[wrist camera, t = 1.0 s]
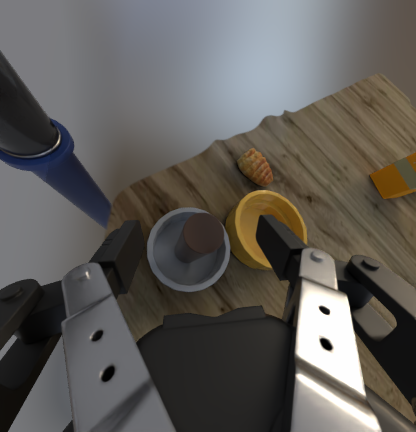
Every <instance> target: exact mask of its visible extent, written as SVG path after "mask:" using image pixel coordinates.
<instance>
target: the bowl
mask: <svg viewBox="0 0 416 432" xmlns="http://www.w3.org/2000/svg"><path fill="white" fill-rule="evenodd" d="M269 214H272V215H273V216H274V217H275V218H276V219H277V220H278V221H280V222H282V223H284V224H286V225H287V226H288V227H289V228H290V229H291V231H293V232H294V233H295V235H297V236H298V237H299V238H300V239H301V240H302V241H303V242H304V243H305V244H306V245H307V231H306V227H305V224H304V221H303V218H302V217H301V215H300V214H299V212H298V210H297V209H296V207H295V206H294V205H293V204H292V203H291V202H290V201H289V200H288V199H286V198H284V197H283V196H281V195H280V194H278V193H275V192H272V191H269V190H257V191H254V192H252V193H249V194H247V195H246V196H245V197H244V198H243V199H242V200H241V201H240V202H239V203H238V204H237V205H236V206H235V207H234V208H233V209H231V211H230V213H229V215H228V217H227V219H226V225H225V231H226V233H227V235H228V237H229V243H230V249H231V251H232V252H233V254H234V255H235V256H236V257H237V258H238V259H239V260H240V261H241V262H242V263H244V264H245V265H247V266H249V267H250V268H254V269H258V270H273V268H272V267H271V265H270V263H269V262H268V260H267V258H266V257H265V255H264V253H263V252H262V250H261V248H260V247H259V245H258V243H257V241H256V229H257V224H258V219H259V216H260V215H269Z"/></svg>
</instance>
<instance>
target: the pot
mask: <svg viewBox="0 0 416 432" xmlns="http://www.w3.org/2000/svg"><path fill="white" fill-rule="evenodd" d="M201 212H203V213H208V212H206V211H204V210H200V209H197V208H179V209H176V210H173V211H170V212H169V213H167V214H166V215H165V216H163V217H162V218H160V219H159V220H158V222H157V223H156V224H155V226H154V227H153V228H152V230H151V232H150V235H149V239H148V242H147V257H148V261H149V264H150V267H151V269H152V272H153V273H154V274H155V275H156V276H157V278H158V279H159V280H160V281H161V282H162V283H163V284H165V285H167V286H168V287H170V288H172V289H174V290H178V291H184V292H194V291H199V290H203V289H205V288H207V287H209V286H210V285H212V284H214V283H215V282H216V281H217V280H218V279H219V278H220V277H221V275H222V274H223V273H224V271H225V269H226V267H227V264H228V262H229V256H230V243H229V237H228V235H227V233H226V231H225V229H224V240H223V243H222V245H221V246H220V247H219V249H217V250H216V251H215V252H213V253H210V254H208V255H206V256H204V257H202V258H199V259H197V260H195V261H193V262H190V263H184V262H181V261H180V260H179V259H178V258H177V257H176V255H175V246H176V244H177V241H178V239H179V236H180V234H181V232H182V229H183V227H184V224H185V222H186V221H187V219H188V218H189V217H190V216H192V215H194V214H196V213H201ZM222 226H223V225H222ZM223 228H224V227H223Z"/></svg>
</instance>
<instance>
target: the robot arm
mask: <svg viewBox="0 0 416 432" xmlns="http://www.w3.org/2000/svg"><path fill="white" fill-rule="evenodd" d="M61 143H62V135H61V132H60V131H59V129H58V128H57V127H56V125H54V124H53V121H51V120H50V118H49V117H48V115H47V114H46V113H45V111H44V110H43V108H42V107H41V106H40V104H39V103H38V101H37V100H36V99H35V97H34V96H33V95H32V94H31V92H30V90H29V89H28V88H27V86H26V85H25V84H24V82H23V81H22V80H21V78H20V77H19V75H18V74H17V73H16V72H15V70H14V69H13V67H12V66H11V64H10V63H9V62H8V60H7V59H6V58H5V56H4V55H3V53H2V52H1V51H0V151H3V152H4V153H6V154H8V155H9V156H12V157H15V158H19V159H38V158H43V157H46V156H48V155H50V154H52V153H54V152H55V151H56V150H57V149H58V148H59V147H60V145H61ZM256 241H257V243H258V245H259V247H260V248H261V250H262V252H263V253H264V255H265V257H266V258H267V260H268V262H269V263H270V265H271V267H272V268H273V270H274V272H275V273H276V275H277V277H278V278H279V280H280V281H282V280H288V281H289V282H290V283H289V286H288V291H287V296H286V302H285V307H284V313H283V317H282V319H280V318H277V317H275V316H272V315H269V314H265V312H264V310H263V308H262V306H252V307H243V308H237V309H235V310H232V311H230V312H228V313H225V314H223V315H220V316H218V317H210V316H204V315H198V314H192V313H185V314H175V315H166V316H164V319H163V325H160V326H158V327H156V328H154V329H152V330H151V331H149V332H148V333H147V334H145V335H144V336H143V337H142V338H140V339H139V340H138V341H137V342H136V343H135V341H134V338H133V336H132V334H131V332H130V330H129V327H128V325H127V323H126V321H125V319H124V316H123V314H122V312H121V310H120V308H119V305H118V303H117V301H116V300H117V297H118V295H119V294H127V293H128V290H129V287H130V284H131V282H132V279H133V276H134V274H135V271H136V268H137V266H138V263H139V260H140V257H141V255H142V252H143V249H144V238H143V233H142V229H141V225H140V222H139V220H130V221H125V222H124V223H123V225H122V226H121V228H120V229H116V230H114V231H113V232H112V233H110V234H109V235H108V237H107V238H106V239H105V241H104V242H103V243H102V246H100V248H99V249H98V250H97V252H96V253H95V254H94V256H93V257H92V258H91V260H90V261H89V262H88V263H86V264H82V265H80V266H78V267H76V268H74V269H72V270H71V271H70V272H68V273H67V274H66V275H65V276H64V278H63V279H62V280H61V281H57V282H54V283H50V284H47V285H44V286H40V285H39V283H38V282H37V281H36V280H34V279H26V280H21V281H18V282H15V283H13V284H10V285H8V286H6V287H5V288H3V289H1V290H0V350H1V349H2V348H3V347H4V345H5V344H6V343H7V341H8V340H9V339H10V338H11V336H12V335H13V334H14V335H15V336H16V337H17V339H16V341H15V342H14V343H13V345H12V346H11V347H10V349H9V350H8V351H7V353H6V354H5V355H4V357H3V358H2V359H1V360H0V432H8V430H9V429H10V427H11V425H12V423H13V421H14V420H15V418H16V416H17V414H18V413H19V411H20V409H21V407H22V405H23V403H24V402H25V400H26V398H27V396H28V395H29V393H30V391H31V389H32V387H33V385H34V384H35V382H36V380H37V378H38V377H39V375H40V373H41V371H42V369H43V368H44V366H45V364H46V362H47V360H48V359H49V357H50V355H51V353H52V352H53V350H54V348H55V346H56V344H57V342H58V341H59V339H60V337H61V335H62V337H63V345H64V353H65V362H66V369H67V378H68V386H69V394H70V403H71V411H72V419H73V420H72V421H71V422H70V423H69V424H68V426H67V427H66V428H65V429H64V431H63V432H416V421H415V422H414V424H413V423H412V422H411V421H410V420H408V419H407V418H406V417H405V416H403V415H402V414H401V413H400V412H398V411H397V410H396V409H395V408H393V407H392V406H391V405H390V404H388V403H387V402H386V401H385V400H383V399H382V398H381V397H380V396H379V395H377V394H376V393H375V392H374V391H372V390H371V389H370V388H369V387H367V386H366V385H365V384H364V383H363V377H362V372H361V366H360V361H359V356H358V350H357V345H356V339H355V334H354V331H355V332H356V334H357V335H358V336H359V337H360V339H361V340H362V341H363V343H364V344H365V345H366V347H367V348H368V349H369V351H370V352H371V353H372V355H373V356H374V357H375V358H376V360H377V361H378V362H379V364H380V365H381V366H382V368H383V369H384V370H385V372H386V373H387V374H388V376H389V377H390V378H391V379H392V381H393V382H394V383H395V385H396V386H397V387H398V389H399V390H400V391H401V393H402V394H403V395H404V397H405V398H406V399H407V400H408V402H409V403H410V404H411V406H412V409H413V412H414V414H415V416H416V288H414V287H413V286H412V285H410V284H409V283H408V282H406V281H405V280H403V279H402V278H401V277H399V276H398V275H397V274H395V273H394V272H393V271H391V270H390V269H389V268H387V267H386V266H385V265H383V264H382V263H380V262H379V261H377V260H375V259H372V258H370V257H367V256H363V255H354V256H352V257H351V259H350V260H349V262H343V261H337V260H333V258H332V257H331V256H330V255H329V254H327V253H326V252H324V251H322V250H319V249H316V248H309V247H308V246H307V245H306V244H305V243H304V242H303V241H302V240H301V239H300V238H299V237H298V236H297V235H295V233H294V232H293V231H291V229H290V228H289V227H288V226H287V225H286V224H284V223H282V222H280V221H278V220H277V219H276V218H275V217H274V216H273V215H272V214H269V215H260V216H259V219H258V224H257V229H256ZM373 296H375V297H376V298H377V299H378V300H379V301H380V302H381V303H382V304H383V305H384V306H385V307H386V308H387V309H388V310H389V311H390V312H391V313H392V314H393V315H394V317H395V319H396V321H397V326H396V328H395V329H393V328H392V327H391V326H390V325H389V324H388V323H387V322H386V321H385V320H384V319H383V317H382V316H381V315H380V314H379V313H378V312H377V311H376V310H375V309H374V308H373V307H372V306H371V305H370V304H369V303H368V302H369V300H370V299H371V298H372V297H373Z"/></svg>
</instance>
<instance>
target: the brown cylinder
mask: <svg viewBox="0 0 416 432" xmlns="http://www.w3.org/2000/svg"><path fill="white" fill-rule="evenodd" d="M223 240H224V228H223V226H222V224H221V222H220V221H219V220H218V219H217V218H216V217H215V216H213V215H212V214H209V213H203V212H201V213H196V214H194V215H192V216H190V217H189V218H188V219H187V221H186V222H185V224H184V227H183V229H182V232H181V234H180V236H179V239H178V241H177V244H176V246H175V255H176V257H177V258H178V259H179V260H180V261H181V262H184V263H190V262H193V261H195V260H197V259H199V258H202V257H204V256H206V255H208V254H210V253H213V252H215V251H216V250H217V249H219V247H220V246H221V245H222V243H223Z"/></svg>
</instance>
